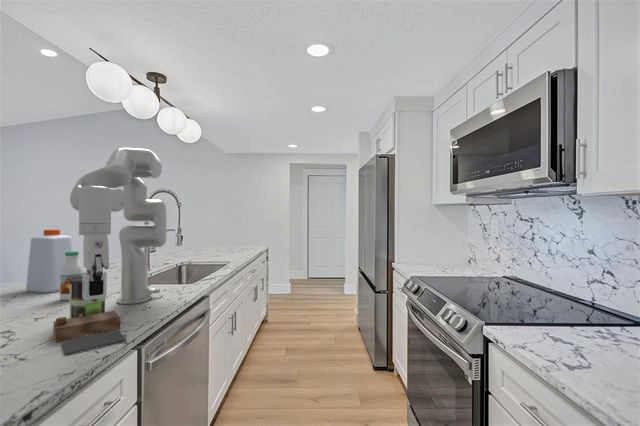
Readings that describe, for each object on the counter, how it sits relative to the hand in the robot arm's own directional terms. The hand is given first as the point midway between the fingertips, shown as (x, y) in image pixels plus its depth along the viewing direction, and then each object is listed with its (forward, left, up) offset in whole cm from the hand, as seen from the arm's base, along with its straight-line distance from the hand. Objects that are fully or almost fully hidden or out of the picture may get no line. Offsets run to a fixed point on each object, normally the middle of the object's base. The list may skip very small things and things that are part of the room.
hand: (94, 292), depth 92 cm
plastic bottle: (+4, -86, -15) cm, 87 cm away
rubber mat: (0, 0, -15) cm, 15 cm away
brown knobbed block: (0, -12, -15) cm, 19 cm away
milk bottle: (-1, -61, -15) cm, 62 cm away
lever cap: (0, 0, -1) cm, 1 cm away
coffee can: (-2, -27, -15) cm, 31 cm away
